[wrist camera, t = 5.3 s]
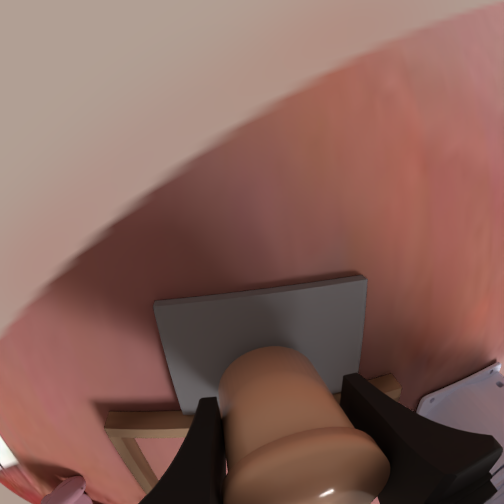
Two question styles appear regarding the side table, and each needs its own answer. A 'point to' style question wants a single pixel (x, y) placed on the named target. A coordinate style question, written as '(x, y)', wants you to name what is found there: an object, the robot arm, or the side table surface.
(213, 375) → the rubber mat
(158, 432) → the frame
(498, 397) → the robot arm
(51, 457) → the side table surface
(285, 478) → the beige peg
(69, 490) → the video game controller
